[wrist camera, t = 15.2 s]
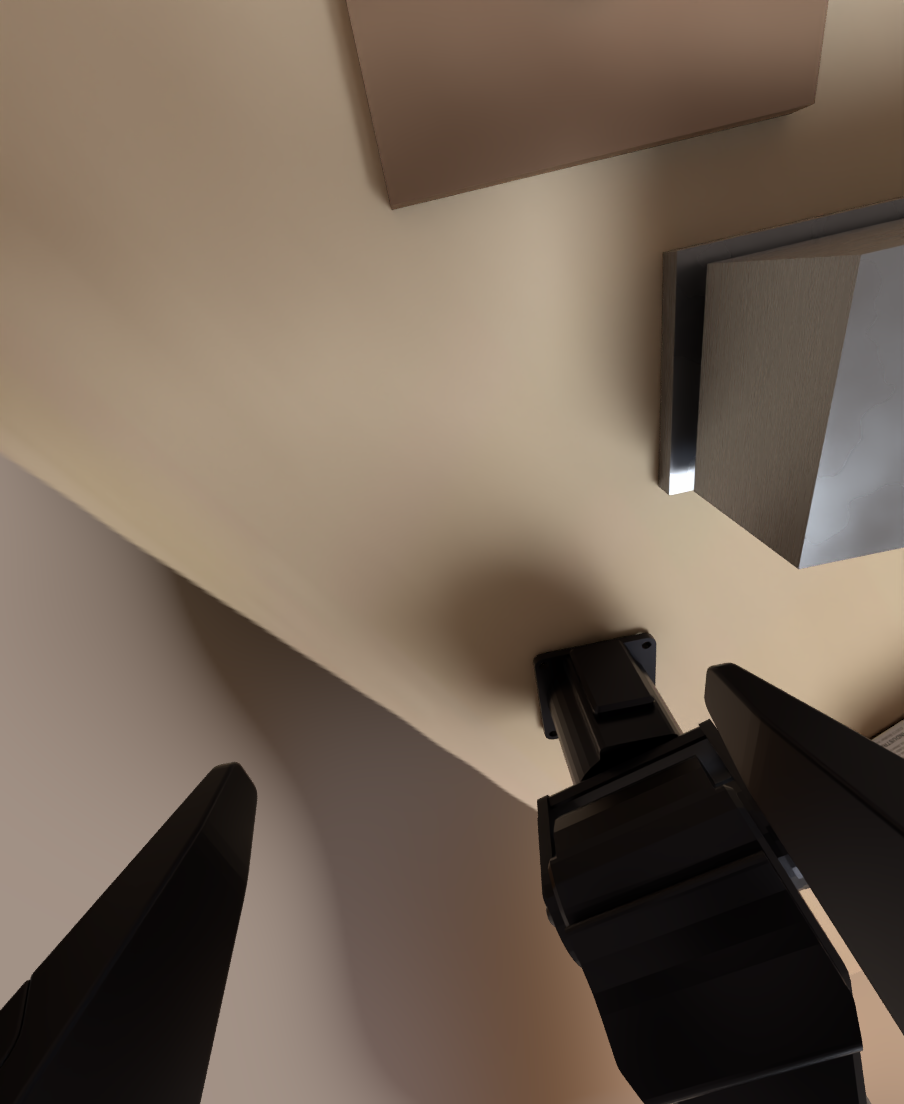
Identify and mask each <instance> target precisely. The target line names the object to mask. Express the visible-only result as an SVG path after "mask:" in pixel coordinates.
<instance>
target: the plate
mask: <svg viewBox="0 0 904 1104" xmlns="http://www.w3.org/2000/svg"><path fill="white" fill-rule="evenodd" d="M828 1H829V0H346V3H347V7H348V12H349V16H350V21H351V26H352V30H353V35H354V39H355V44H356V49H357V53H358V58H359V62H360V67H361V72H362V76H363V81H364V85H365V90H366V95H367V99H368V104H369V108H370V113H371V117H372V122H373V127H374V131H375V136H376V140H377V145H378V150H379V154H380V159H381V163H382V168H383V173H384V177H385V182H386V186H387V191H388V196H389V200H390V205H391V209H392V210H394V209H398V208H402V207H406V206H410V205H414V204H419V203H423V202H427V201H431V200H435V199H439V198H443V197H448V196H452V195H456V194H460V193H464V192H468V191H472V190H477V189H481V188H485V187H489V186H493V185H497V184H501V183H506V182H510V181H514V180H518V179H522V178H526V177H530V176H535V175H539V174H543V173H547V172H551V171H555V170H560V169H564V168H568V167H572V166H576V165H580V164H584V163H589V162H593V161H597V160H601V159H605V158H609V157H613V156H618V155H622V154H626V153H630V152H634V151H638V150H642V149H647V148H651V147H655V146H659V145H663V144H667V143H671V142H676V141H680V140H684V139H688V138H692V137H696V136H700V135H705V134H709V133H713V132H717V131H721V130H725V129H730V128H734V127H738V126H742V125H746V124H750V123H754V122H759V121H763V120H767V119H771V118H775V117H779V116H783V115H788V114H791V113H794V112H796V111H798V110H800V109H803V108H805V107H807V106H810V105H812V104H814V102H815V95H816V87H817V80H818V73H819V66H820V58H821V51H822V44H823V37H824V29H825V22H826V15H827V8H828Z"/></svg>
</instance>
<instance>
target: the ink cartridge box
mask: <svg viewBox="0 0 904 1104" xmlns="http://www.w3.org/2000/svg"><path fill="white" fill-rule="evenodd" d="M872 741H874V742H876V743H877V744H879V745H881V746H883V747H885V748H886V749H888V750H890V751H892V752H893V753H895V754H897V755H899V756H901V757H902V758H904V720H902V721H901V722H899V723H897V724H896V725H894V726H893V727H891V728H889V729H888V730H886V731H885V732H883V733H881V734H880V735H878V736H877V737H875V738H874V739H872Z"/></svg>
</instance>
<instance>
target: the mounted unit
mask: <svg viewBox="0 0 904 1104" xmlns="http://www.w3.org/2000/svg"><path fill="white" fill-rule="evenodd" d="M659 487H660V488H661V489H662V490H664V491H665V492H666V493H667V494H668V495H672V494H677V493H682V492H686V491H691V490H694V492H696V493H697V494H698V495H700V496H701V497H702V498H704V499H705V500H706V501H708V502H709V503H710V504H712V505H713V506H714V507H716V508H717V509H718V510H720V511H721V512H722V513H724V514H725V515H726V516H728V517H729V518H730V519H732V520H733V521H735V522H736V523H737V524H739V525H740V526H741V527H743V528H744V529H745V530H747V531H748V532H749V533H751V534H752V535H753V536H755V537H756V538H757V539H759V540H760V541H761V542H763V543H764V544H765V545H767V546H768V547H769V548H771V549H772V550H773V551H775V552H776V553H777V554H779V555H780V556H782V557H783V558H784V559H786V560H787V561H788V562H790V563H791V564H792V565H794V566H795V567H796V568H798V569H801V568H806V567H811V566H816V565H821V564H826V563H831V562H835V561H840V560H845V559H850V558H855V557H860V556H864V555H869V554H874V553H879V552H884V551H889V550H894V549H898V548H903V547H904V197H900V198H896V199H891V200H887V201H883V202H878V203H874V204H870V205H865V206H861V207H857V208H853V209H848V210H844V211H840V212H835V213H831V214H827V215H823V216H818V217H814V218H810V219H805V220H801V221H797V222H792V223H788V224H784V225H780V226H775V227H771V228H767V229H762V230H758V231H754V232H750V233H745V234H741V235H737V236H732V237H728V238H724V239H719V240H715V241H711V242H707V243H702V244H698V245H694V246H689V247H685V248H681V249H677V250H672V251H668V252H664V253H663V300H662V350H661V399H660V449H659Z"/></svg>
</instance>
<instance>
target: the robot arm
mask: <svg viewBox="0 0 904 1104" xmlns="http://www.w3.org/2000/svg"><path fill="white" fill-rule="evenodd" d="M644 642H646V643H644ZM643 643H644V644H643ZM541 663H545V664H541ZM533 665H534V672H535V678H536V685H537V691H538V698H539V704H540V710H541V717H542V723H543V730H544V733H545V736H546V738H548V739H558V738H559V741H560V744H561V747H562V750H563V753H564V757H565V760H566V763H567V766H568V769H569V772H570V775H571V778H572V781H573V786H571V787H568V788H566V789H564V790H562V791H560V792H558V793H556V794H553V795H551V796H548V795H546V796H544V797H542V798H540V799H538V800H537V807H538V833H539V850H540V865H541V880H542V894H543V899H544V902H545V904H546V912H547V916H548V919H549V921H550V923H551V924H552V925H553V926H554V927H556V930H557V932H558V934H559V936H560V938H561V940H562V942H563V944H564V946H565V947H566V949H567V951H568V953H569V954H570V956H571V957H572V958H573V960H574V961H575V962H576V963H577V964H578V965H579V966H580V967H581V968H582V969H583V972H584V974H585V976H586V979H587V981H588V983H589V986H590V988H591V990H592V993H593V996H594V998H595V1001H596V1004H597V1007H598V1010H599V1013H600V1016H601V1018H602V1021H603V1024H604V1027H605V1030H606V1033H607V1036H608V1040H609V1043H610V1046H611V1048H612V1052H613V1055H614V1058H615V1061H616V1063H617V1066H618V1068H619V1070H620V1071H621V1073H622V1075H623V1076H624V1077H625V1079H626V1080H627V1081H628V1083H629V1084H630V1085H631V1087H632V1088H633V1090H634V1091H635V1092H636V1093H637V1095H638V1096H639V1098H640V1099H641V1100H642V1101H643V1103H644V1104H871V1103H870V1101H869V1099H868V1098H867V1096H866V1092H865V1085H864V1077H863V1070H862V1062H861V1055H860V1051H862V1050H863V1045H862V1038H861V1032H860V1027H859V1022H858V1017H857V1011H856V1006H855V1002H854V998H853V995H852V987H851V980H850V977H849V973H848V970H847V968H846V966H845V964H844V963H843V961H842V959H841V958H840V956H839V954H838V953H837V951H836V950H835V948H834V946H833V945H832V943H831V941H830V940H829V938H828V937H827V935H826V933H825V932H824V930H823V929H822V927H821V925H820V924H819V922H818V921H817V919H816V917H815V916H814V914H813V913H812V911H811V910H810V908H809V906H808V905H807V903H806V902H805V900H804V899H803V897H802V895H801V894H800V892H799V891H801V890H803V889H807V888H811V890H812V892H813V893H814V895H815V896H816V898H817V899H818V901H819V903H820V904H821V906H822V907H823V909H824V910H825V912H826V914H827V915H828V917H829V918H830V920H831V921H832V923H833V925H834V926H835V928H836V929H837V931H838V933H839V934H840V936H841V937H842V939H843V940H844V942H845V944H846V945H847V947H848V948H849V950H850V951H851V953H852V955H853V956H854V958H855V959H856V961H857V962H858V964H859V966H860V967H861V969H862V970H863V972H864V973H865V975H866V976H867V978H868V980H869V981H870V983H871V984H872V986H873V988H874V989H875V991H876V992H877V994H878V995H879V997H880V999H881V1000H882V1002H883V1003H884V1005H885V1006H886V1008H887V1010H888V1011H889V1013H890V1014H891V1016H892V1018H893V1019H894V1021H895V1022H896V1024H897V1025H898V1027H899V1029H900V1030H901V1032H902V1033H903V1035H904V758H902V757H901V756H899V755H897V754H895V753H893V752H892V751H890V750H888V749H886V748H885V747H883V746H881V745H879V744H877V743H876V742H874V741H872V740H870V739H868V738H867V737H865V736H863V735H861V734H859V733H858V732H856V731H854V730H852V729H851V728H849V727H847V726H845V725H843V724H842V723H840V722H838V721H836V720H834V719H833V718H831V717H829V716H827V715H825V714H824V713H822V712H820V711H818V710H817V709H815V708H813V707H811V706H809V705H808V704H806V703H804V702H802V701H800V700H799V699H797V698H795V697H793V696H791V695H790V694H788V693H786V692H784V691H783V690H781V689H779V688H777V687H775V686H774V685H772V684H770V683H768V682H766V681H765V680H763V679H761V678H759V677H757V676H756V675H754V674H752V673H750V672H749V671H747V670H745V669H743V668H741V667H740V666H738V665H736V664H733V663H723V664H718V665H713V666H710V667H709V668H708V670H707V674H706V685H705V695H704V698H705V704H706V707H707V709H708V711H709V713H710V715H711V717H712V719H713V721H714V723H715V725H716V727H717V728H716V727H715V725H714V724H713V723H712V721H711V720H710V719H708V720H706V721H704V722H702V723H700V724H699V727H697V728H695V729H692V730H690V731H688V732H686V733H684V734H683V732H682V730H681V729H680V727H679V725H678V724H677V722H676V720H675V719H674V717H673V715H672V714H671V712H670V710H669V709H668V707H667V705H666V704H665V702H664V700H663V699H662V697H661V695H660V694H659V692H658V690H657V689H656V687H655V673H656V641H655V639H654V638H653V636H652V635H651V634H649V633H642V634H637V635H632V636H627V637H622V638H617V639H612V640H608V641H603V642H598V643H593V644H588V645H583V646H578V647H573V648H568V649H563V650H559V651H554V652H549V653H544V654H540V655H537V656H536V657H535V658H534V660H533ZM717 729H718V730H717ZM256 806H257V790H256V787H255V785H254V783H253V782H252V780H251V779H250V777H249V776H248V774H247V773H246V771H245V770H244V769H243V767H242V766H241V765H240V764H239V763H237V762H231V763H226V764H221V765H218V766H216V767H214V768H213V769H212V770H211V771H210V772H209V773H208V774H207V775H206V777H205V778H204V779H203V780H202V781H201V782H200V783H199V785H198V786H197V787H196V788H195V789H194V790H193V792H192V793H191V794H190V795H189V796H188V797H187V798H186V799H185V801H184V802H183V803H182V804H181V805H180V806H179V807H178V809H177V810H176V811H175V812H174V813H173V814H172V815H171V817H170V818H169V819H168V820H167V821H166V822H165V823H164V825H163V826H162V827H161V828H160V829H159V830H158V832H157V833H156V834H155V835H154V836H153V837H152V838H151V839H150V840H149V842H148V843H147V844H146V845H145V846H144V847H143V848H142V850H141V851H140V852H139V853H138V854H137V855H136V857H135V858H134V859H133V860H132V861H131V862H130V863H129V864H128V866H127V867H126V868H125V869H124V870H123V871H122V872H121V874H120V875H119V876H118V877H117V878H116V880H114V882H113V883H112V884H111V885H110V886H109V887H108V888H107V889H106V891H105V892H104V893H103V894H102V895H101V896H100V897H99V899H98V900H97V901H96V902H95V903H94V904H93V905H92V907H91V908H90V909H89V910H88V911H87V912H86V914H85V915H84V916H83V917H82V918H81V919H80V920H79V921H78V923H77V924H76V925H75V926H74V927H73V928H72V929H71V931H70V932H69V933H68V934H67V935H66V936H65V938H64V939H63V940H62V941H61V942H60V943H59V944H58V945H57V947H56V948H55V949H54V950H53V951H52V952H51V954H50V955H49V956H48V957H47V958H46V959H45V960H44V961H43V963H42V964H41V965H40V966H39V967H38V968H37V969H36V970H35V972H34V973H33V974H32V976H31V979H30V980H27V981H26V982H25V983H24V984H23V985H22V986H21V988H19V990H18V991H17V992H16V993H15V994H14V995H13V997H12V998H11V999H10V1000H9V1001H8V1002H7V1003H6V1004H5V1006H4V1007H3V1008H2V1009H1V1010H0V1104H200V1102H201V1097H202V1092H203V1088H204V1083H205V1079H206V1074H207V1069H208V1065H209V1060H210V1055H211V1050H212V1046H213V1041H214V1036H215V1032H216V1026H217V1023H218V1018H219V1013H220V1008H221V1004H222V999H223V995H224V990H225V985H226V981H227V976H228V971H229V967H230V962H231V957H232V952H233V948H234V943H235V939H236V934H237V930H238V925H239V920H240V916H241V911H242V907H243V902H244V896H245V892H246V886H247V880H248V873H249V865H250V857H251V848H252V840H253V831H254V822H255V814H256Z"/></svg>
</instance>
